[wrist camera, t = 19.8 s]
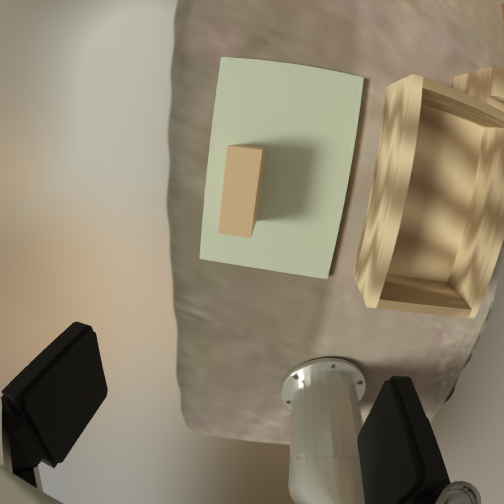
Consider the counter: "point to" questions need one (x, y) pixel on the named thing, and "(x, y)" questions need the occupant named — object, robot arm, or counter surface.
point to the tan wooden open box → (436, 196)
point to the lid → (278, 165)
